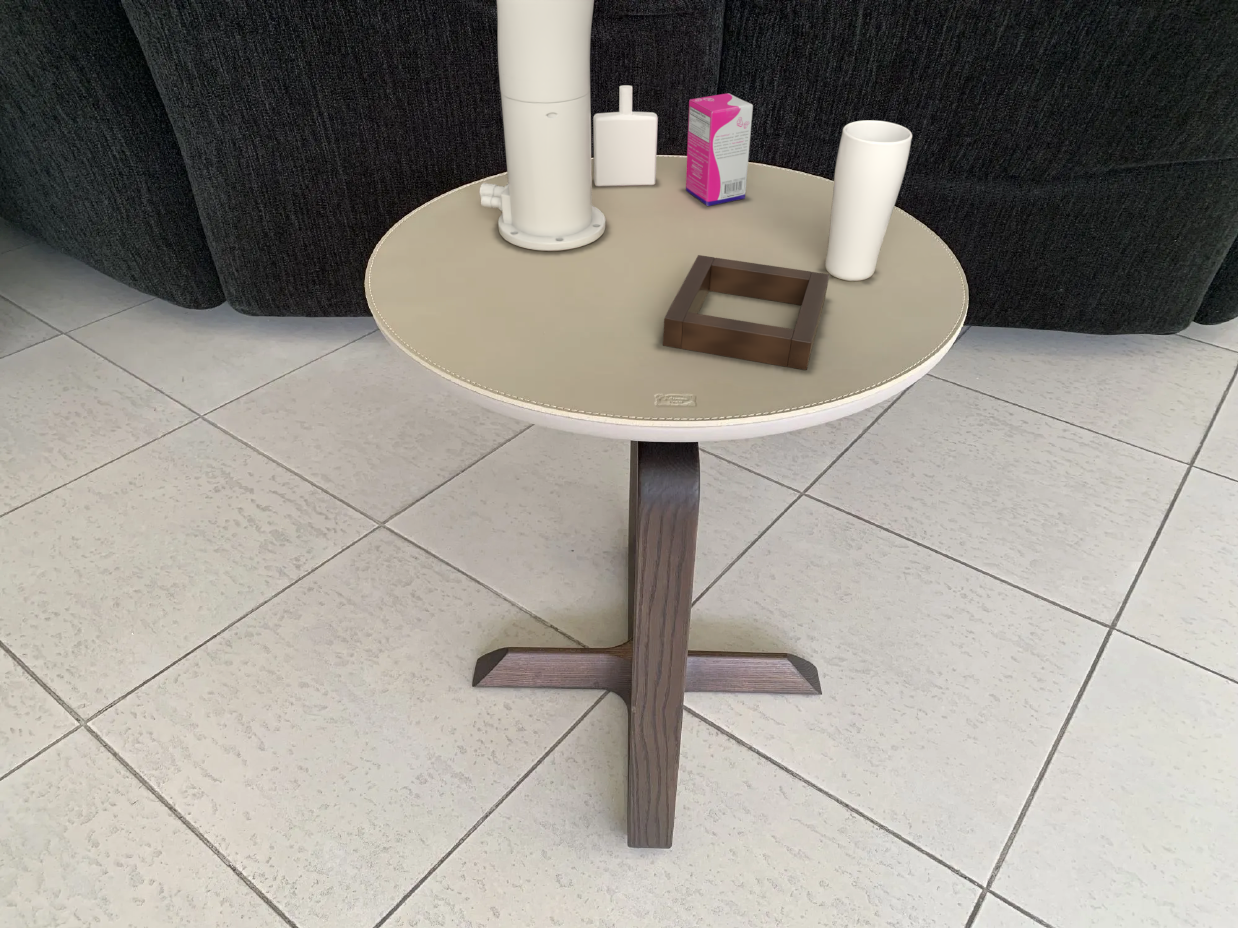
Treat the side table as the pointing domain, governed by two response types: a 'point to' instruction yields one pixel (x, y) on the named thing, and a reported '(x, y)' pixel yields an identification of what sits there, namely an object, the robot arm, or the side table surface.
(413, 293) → the side table surface
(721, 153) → the supplement box
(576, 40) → the robot arm
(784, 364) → the socket
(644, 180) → the perfume bottle
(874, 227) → the drinking glass
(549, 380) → the side table surface
